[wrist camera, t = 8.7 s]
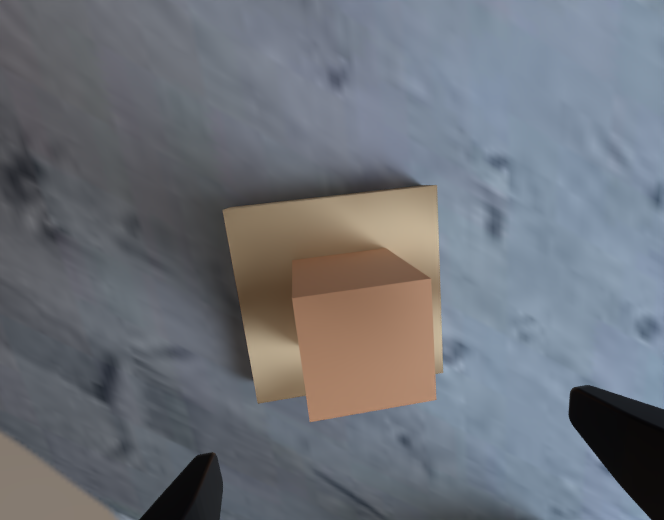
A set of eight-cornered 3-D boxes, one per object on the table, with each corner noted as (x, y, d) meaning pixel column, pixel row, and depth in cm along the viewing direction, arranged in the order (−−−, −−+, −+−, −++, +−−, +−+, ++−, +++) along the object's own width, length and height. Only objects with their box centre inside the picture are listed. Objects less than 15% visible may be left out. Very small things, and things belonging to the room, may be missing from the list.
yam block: (391, 333, 19) (436, 399, 13) (304, 347, 18) (310, 422, 13) (385, 247, 18) (431, 278, 12) (292, 260, 17) (292, 298, 11)
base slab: (429, 355, 22) (443, 372, 20) (261, 383, 21) (257, 403, 19) (422, 185, 19) (436, 185, 17) (230, 207, 18) (222, 209, 16)
